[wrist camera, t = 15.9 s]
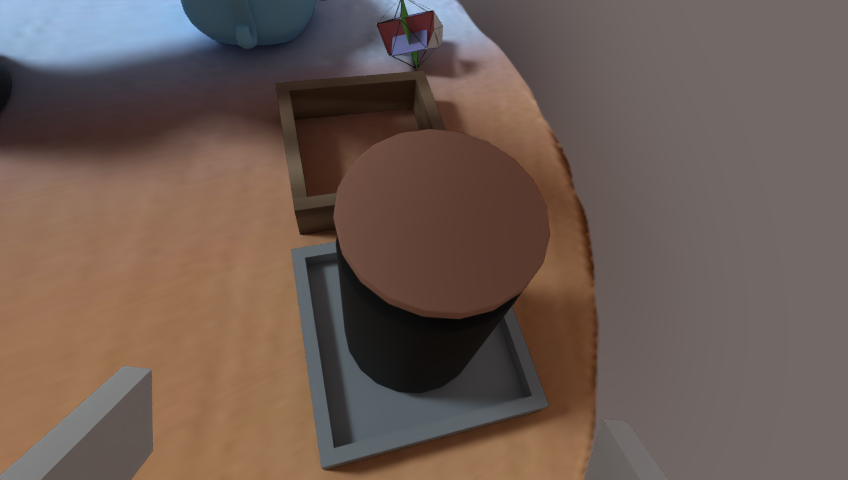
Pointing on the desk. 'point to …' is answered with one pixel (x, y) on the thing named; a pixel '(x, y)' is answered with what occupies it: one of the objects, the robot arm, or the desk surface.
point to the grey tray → (387, 409)
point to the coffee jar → (432, 253)
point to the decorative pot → (250, 20)
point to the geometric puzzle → (411, 33)
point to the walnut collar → (342, 100)
